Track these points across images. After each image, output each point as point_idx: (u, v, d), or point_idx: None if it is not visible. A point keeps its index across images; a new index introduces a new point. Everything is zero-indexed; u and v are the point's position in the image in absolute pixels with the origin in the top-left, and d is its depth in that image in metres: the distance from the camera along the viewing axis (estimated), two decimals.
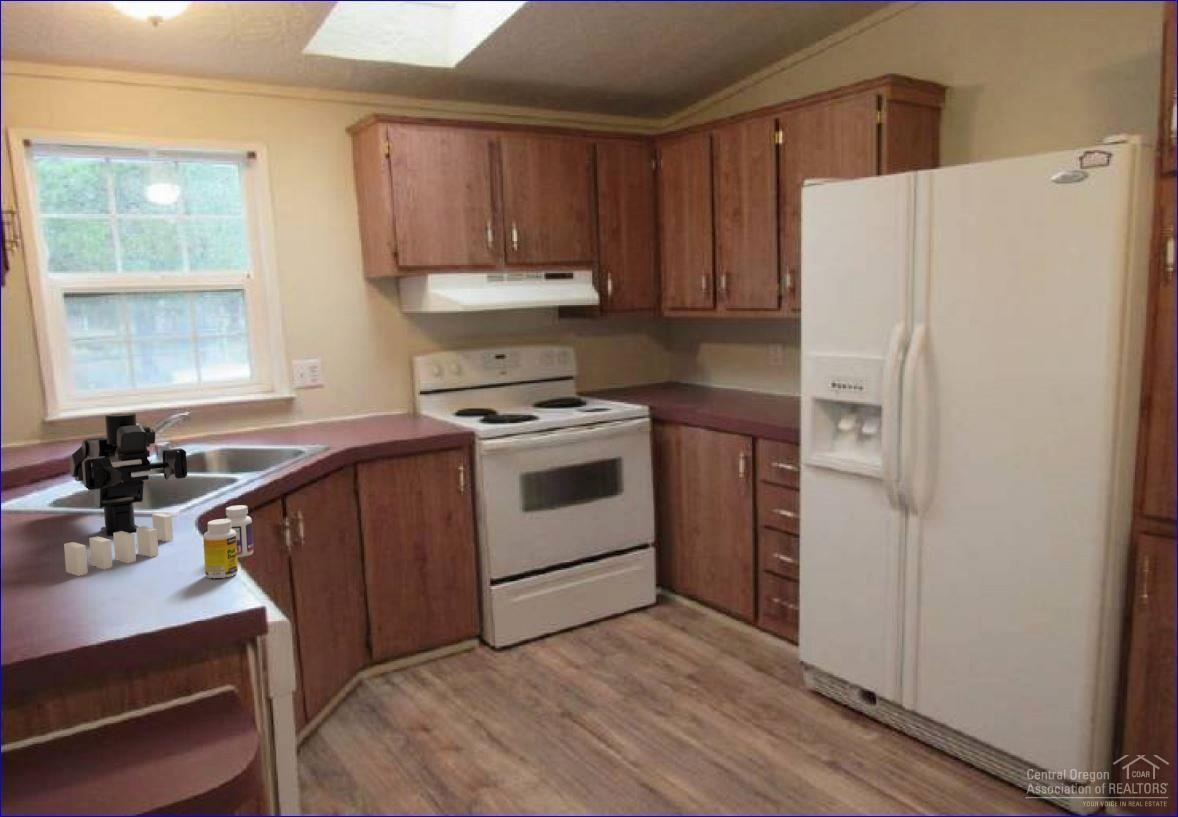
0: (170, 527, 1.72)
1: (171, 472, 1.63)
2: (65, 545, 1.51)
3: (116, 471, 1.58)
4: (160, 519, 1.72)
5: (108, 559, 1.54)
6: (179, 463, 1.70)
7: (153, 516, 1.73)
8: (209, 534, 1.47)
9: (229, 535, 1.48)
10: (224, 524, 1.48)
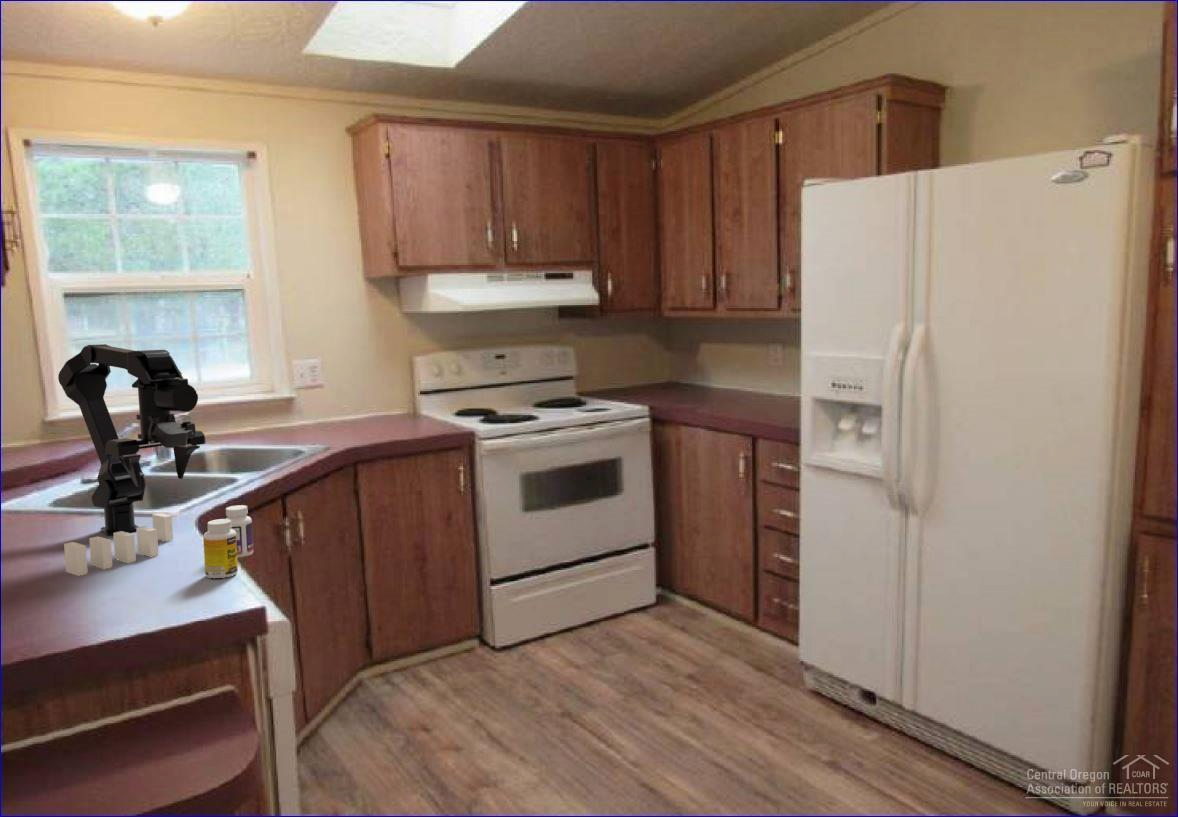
0: (170, 527, 1.72)
1: (178, 476, 1.76)
2: (65, 545, 1.51)
3: (138, 476, 1.67)
4: (160, 519, 1.72)
5: (108, 559, 1.54)
6: None
7: (153, 516, 1.73)
8: (209, 534, 1.47)
9: (228, 535, 1.48)
10: (224, 524, 1.48)
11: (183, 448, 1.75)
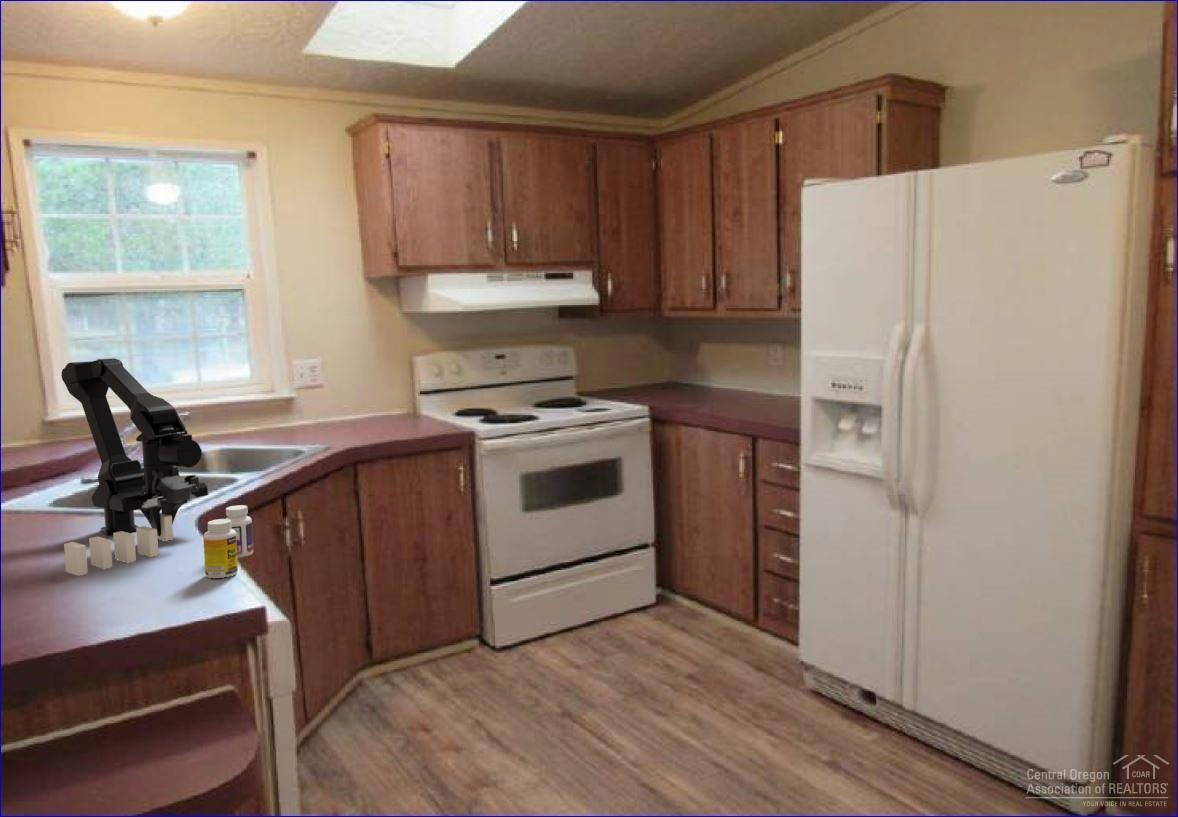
0: (170, 527, 1.72)
1: None
2: (65, 545, 1.51)
3: (158, 526, 1.71)
4: (160, 519, 1.72)
5: (108, 559, 1.54)
6: None
7: None
8: (209, 534, 1.47)
9: (229, 535, 1.48)
10: (224, 524, 1.48)
11: (170, 503, 1.73)
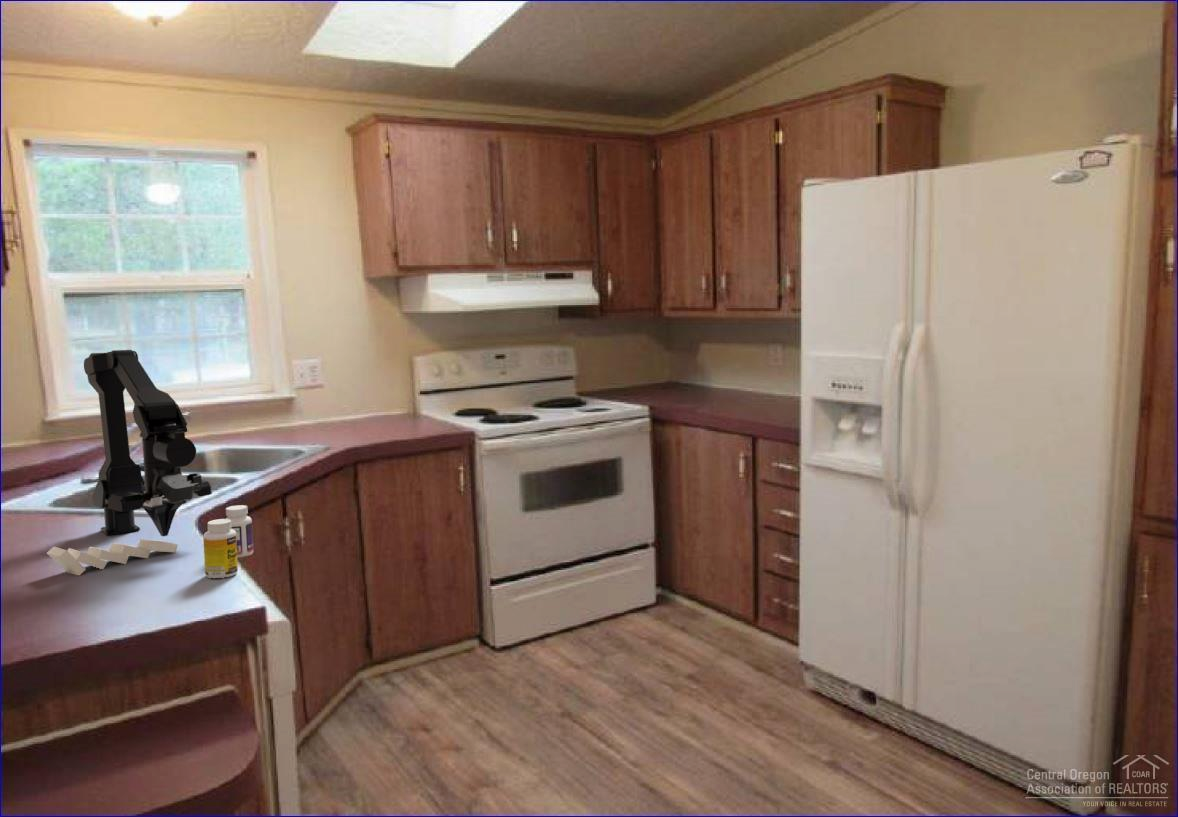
0: (164, 545, 1.62)
1: None
2: (48, 554, 1.49)
3: (163, 526, 1.64)
4: None
5: (97, 561, 1.52)
6: None
7: (140, 547, 1.62)
8: (209, 534, 1.47)
9: (228, 535, 1.48)
10: (224, 524, 1.48)
11: (168, 503, 1.65)
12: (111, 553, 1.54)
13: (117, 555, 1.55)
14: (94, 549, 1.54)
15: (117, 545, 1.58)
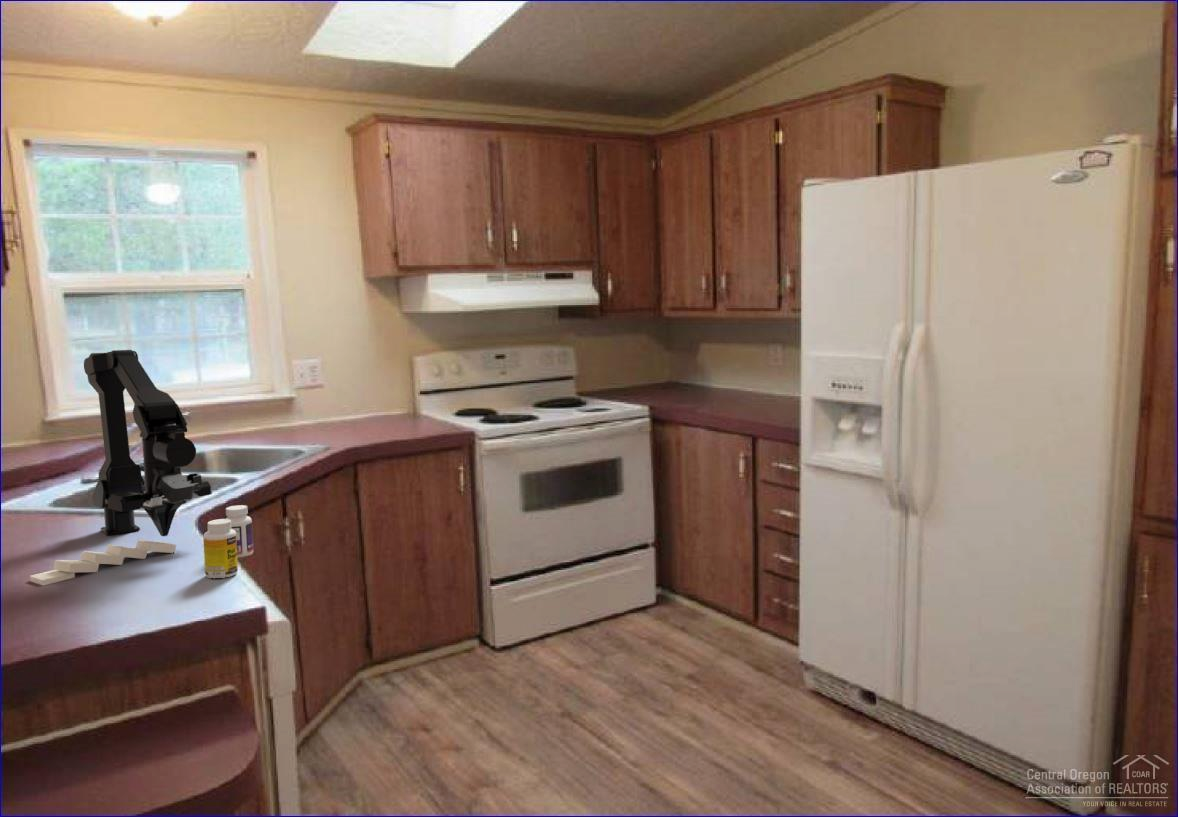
0: (162, 546, 1.62)
1: None
2: None
3: (163, 526, 1.64)
4: (147, 550, 1.61)
5: (89, 566, 1.50)
6: None
7: (138, 548, 1.62)
8: (209, 534, 1.47)
9: (228, 535, 1.48)
10: (224, 524, 1.48)
11: (168, 503, 1.65)
12: (106, 556, 1.53)
13: (112, 557, 1.54)
14: (88, 553, 1.53)
15: (114, 547, 1.57)
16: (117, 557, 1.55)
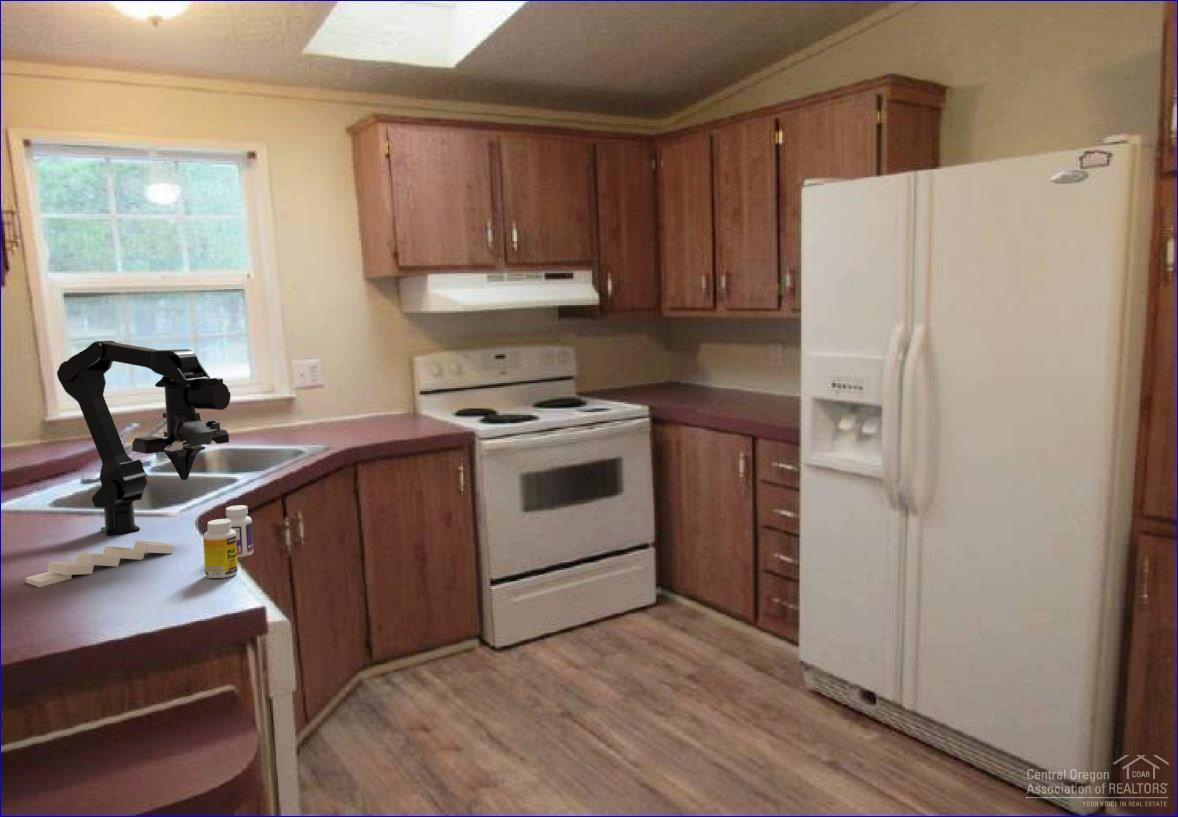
0: (160, 547, 1.61)
1: None
2: None
3: (183, 470, 1.74)
4: None
5: (84, 568, 1.49)
6: None
7: None
8: (209, 534, 1.47)
9: (228, 535, 1.48)
10: (224, 524, 1.48)
11: (188, 449, 1.74)
12: (102, 557, 1.52)
13: (108, 559, 1.54)
14: (84, 555, 1.52)
15: (111, 548, 1.56)
16: (113, 558, 1.54)
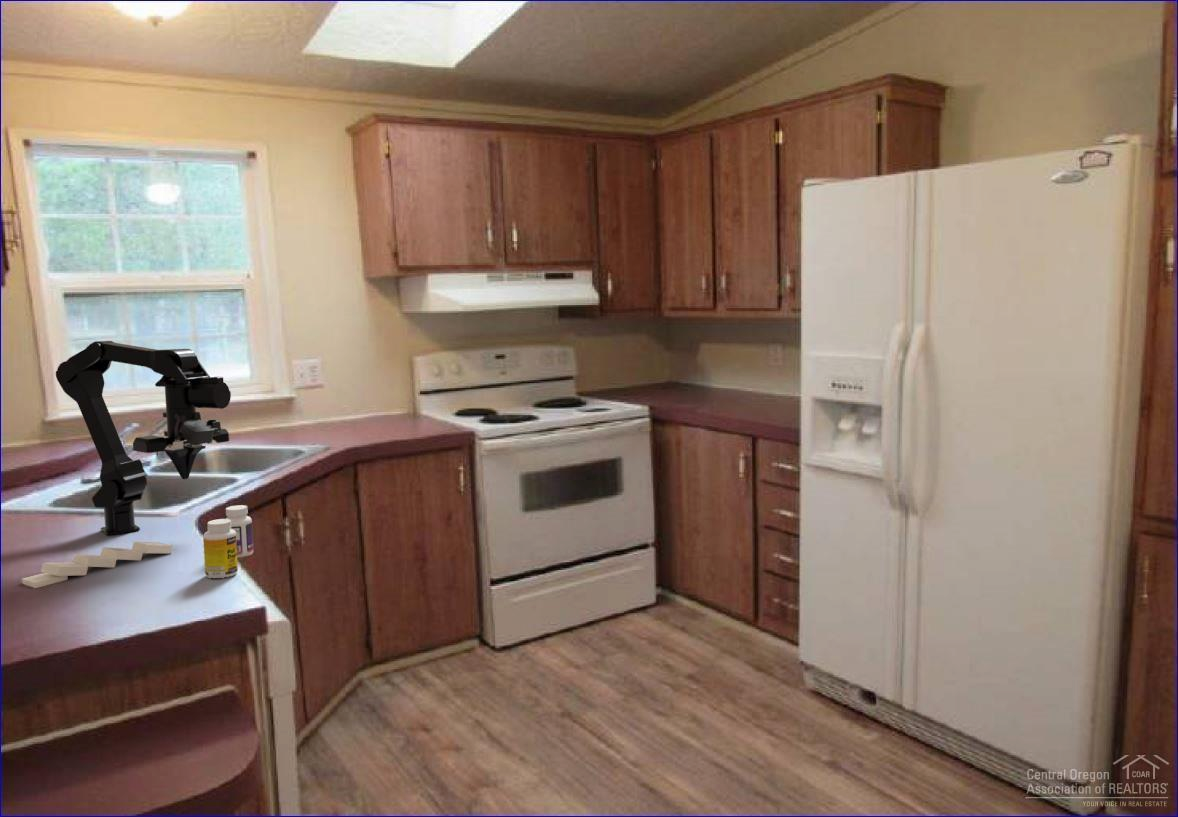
0: (159, 547, 1.61)
1: None
2: None
3: (184, 469, 1.74)
4: None
5: (78, 569, 1.48)
6: None
7: (135, 550, 1.61)
8: (209, 534, 1.47)
9: (228, 535, 1.48)
10: (224, 524, 1.48)
11: (189, 448, 1.75)
12: (98, 559, 1.52)
13: (105, 560, 1.53)
14: (80, 557, 1.51)
15: (108, 550, 1.56)
16: (109, 560, 1.54)
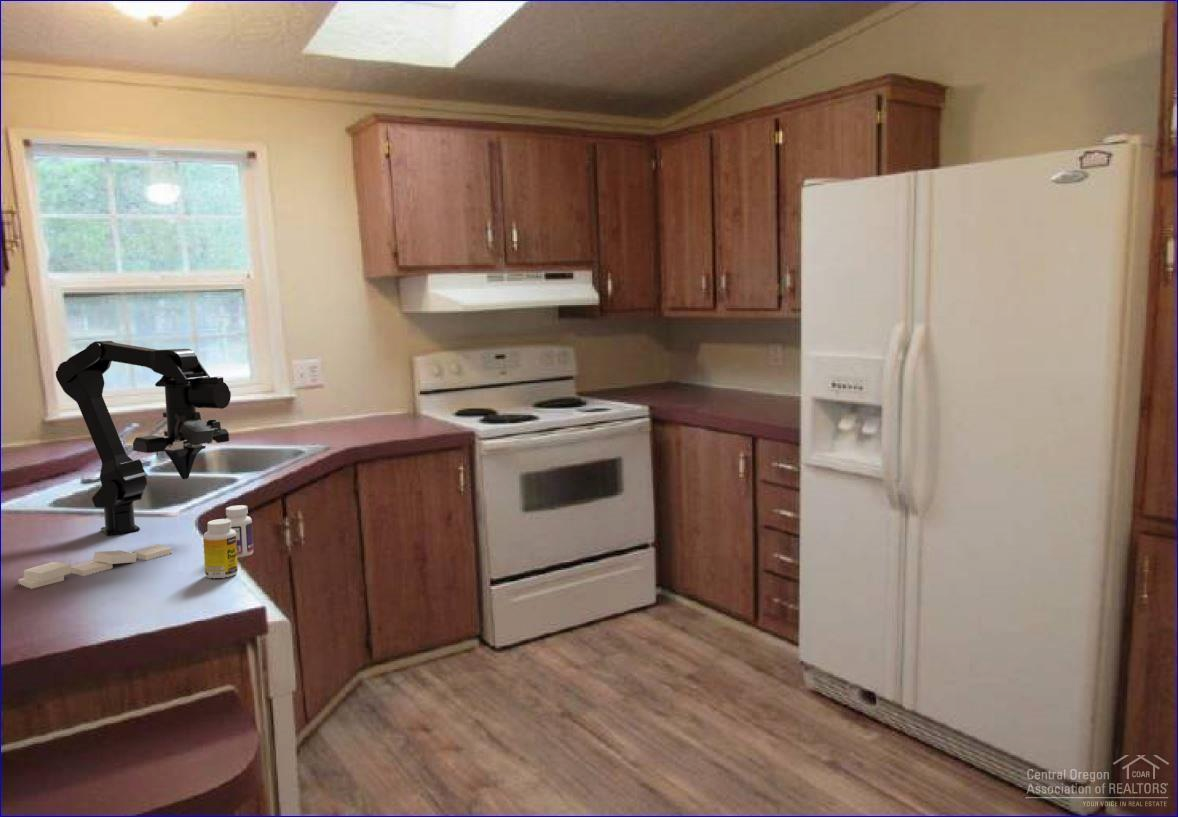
0: (157, 553, 1.61)
1: None
2: None
3: (184, 469, 1.74)
4: None
5: (60, 570, 1.46)
6: None
7: None
8: (209, 534, 1.47)
9: (228, 535, 1.48)
10: (224, 524, 1.48)
11: (189, 448, 1.75)
12: (94, 569, 1.51)
13: (100, 567, 1.52)
14: (75, 569, 1.50)
15: (102, 554, 1.54)
16: (105, 565, 1.53)
